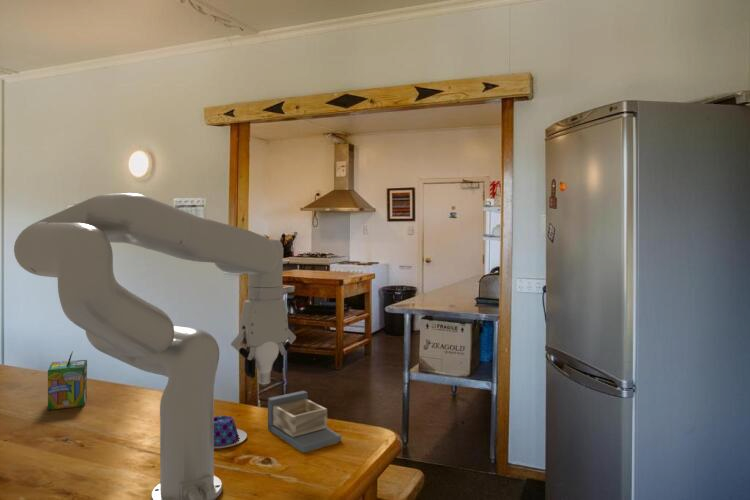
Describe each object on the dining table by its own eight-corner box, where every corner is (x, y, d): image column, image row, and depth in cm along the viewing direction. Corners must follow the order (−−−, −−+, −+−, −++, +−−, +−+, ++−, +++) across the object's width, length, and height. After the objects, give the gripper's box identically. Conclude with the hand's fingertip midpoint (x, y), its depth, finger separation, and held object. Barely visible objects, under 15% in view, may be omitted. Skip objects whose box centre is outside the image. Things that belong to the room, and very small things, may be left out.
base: (341, 441, 122) (341, 408, 122) (303, 453, 115) (303, 418, 115) (303, 420, 136) (303, 390, 135) (267, 429, 129) (267, 398, 129)
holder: (327, 427, 126) (327, 408, 126) (292, 437, 120) (292, 417, 120) (306, 416, 134) (306, 398, 134) (272, 424, 128) (273, 405, 128)
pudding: (189, 437, 124) (189, 416, 124) (237, 427, 131) (238, 407, 131) (202, 455, 114) (202, 432, 114) (253, 444, 121) (253, 422, 121)
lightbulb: (271, 390, 111) (272, 339, 111) (244, 388, 112) (245, 338, 112) (282, 382, 117) (283, 334, 117) (257, 380, 119) (257, 333, 118)
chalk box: (51, 401, 149) (51, 350, 148) (87, 397, 153) (87, 348, 152) (46, 411, 141) (45, 357, 140) (84, 406, 144) (84, 354, 144)
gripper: (291, 290, 123) (290, 365, 123) (221, 294, 112) (220, 376, 112) (307, 293, 117) (306, 372, 117) (235, 298, 106) (234, 384, 106)
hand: (264, 373), depth 115 cm, fingers closed on lightbulb, 6 cm apart
